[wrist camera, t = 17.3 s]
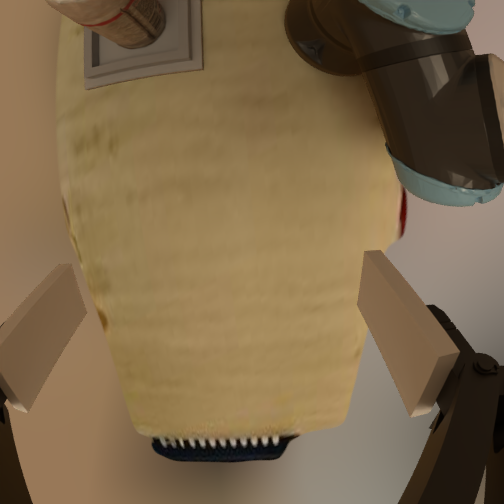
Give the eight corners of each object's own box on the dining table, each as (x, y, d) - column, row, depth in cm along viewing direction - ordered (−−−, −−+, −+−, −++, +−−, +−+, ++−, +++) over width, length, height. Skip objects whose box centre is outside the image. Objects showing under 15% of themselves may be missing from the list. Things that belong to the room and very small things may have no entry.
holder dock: (201, -33, 29) (197, -44, 26) (203, 69, 36) (199, 66, 33) (90, -9, 29) (79, -15, 26) (88, 89, 36) (76, 89, 33)
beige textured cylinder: (120, -3, 29) (48, -57, 11) (175, -3, 30) (127, -71, 12) (105, 48, 33) (18, 21, 15) (159, 51, 34) (94, 11, 16)
